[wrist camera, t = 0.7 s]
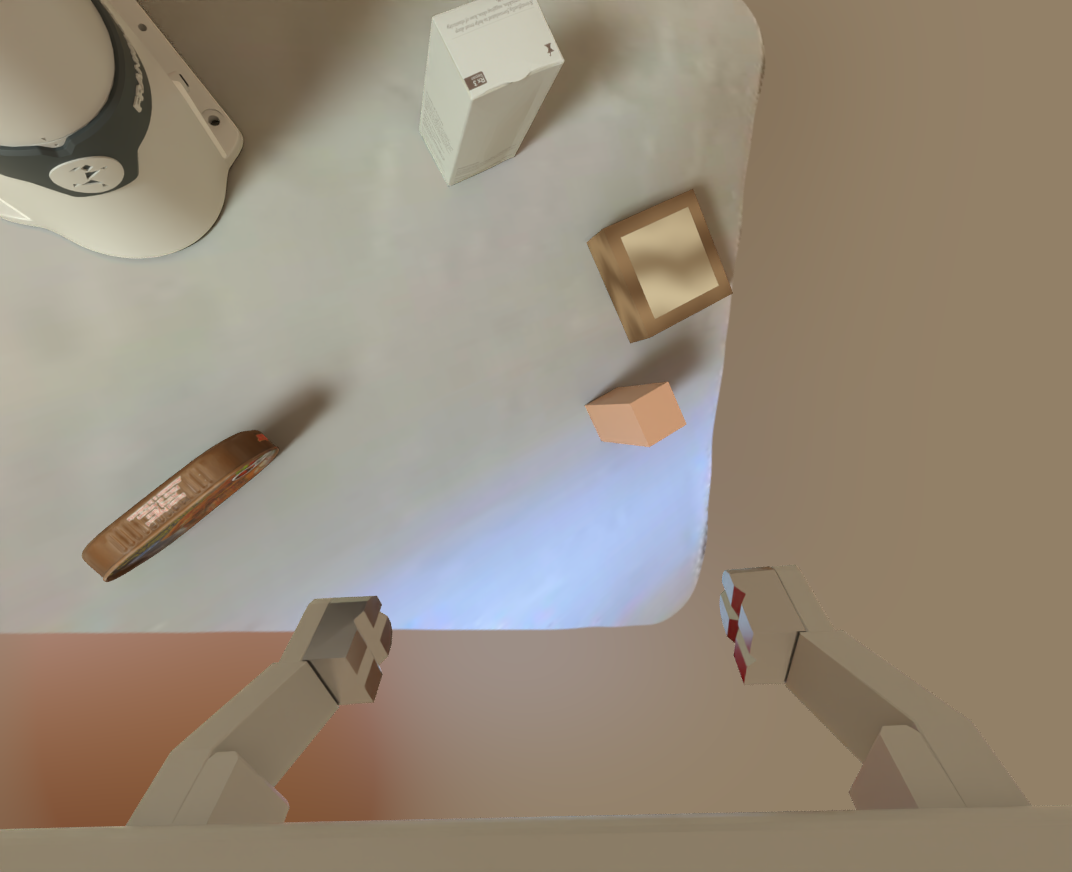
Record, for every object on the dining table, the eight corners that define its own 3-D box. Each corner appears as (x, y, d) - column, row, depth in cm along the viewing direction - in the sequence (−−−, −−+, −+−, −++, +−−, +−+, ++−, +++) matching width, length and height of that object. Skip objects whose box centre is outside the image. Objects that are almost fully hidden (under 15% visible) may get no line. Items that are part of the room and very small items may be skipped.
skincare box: (487, 103, 47) (532, -29, 33) (516, 161, 49) (571, 58, 34) (413, 133, 45) (428, 6, 31) (446, 193, 47) (474, 97, 32)
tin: (144, 565, 40) (85, 603, 32) (113, 539, 39) (45, 571, 31) (290, 448, 43) (269, 455, 35) (264, 422, 43) (237, 424, 35)
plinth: (586, 242, 51) (603, 228, 47) (671, 204, 54) (693, 188, 51) (630, 343, 54) (649, 337, 50) (709, 301, 57) (733, 293, 53)
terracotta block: (584, 405, 52) (630, 403, 43) (617, 387, 53) (668, 381, 44) (601, 441, 53) (649, 447, 44) (633, 422, 54) (686, 424, 45)
